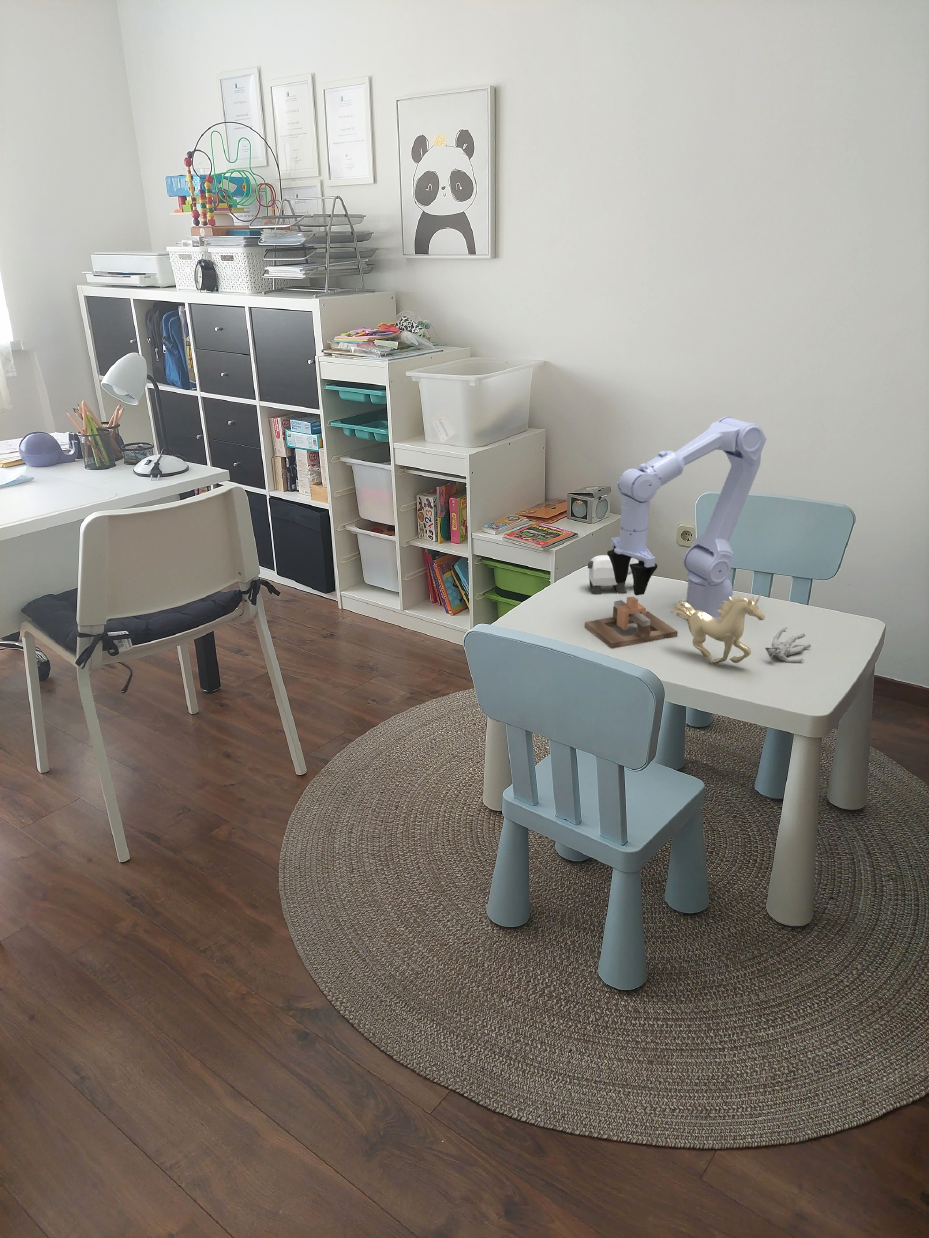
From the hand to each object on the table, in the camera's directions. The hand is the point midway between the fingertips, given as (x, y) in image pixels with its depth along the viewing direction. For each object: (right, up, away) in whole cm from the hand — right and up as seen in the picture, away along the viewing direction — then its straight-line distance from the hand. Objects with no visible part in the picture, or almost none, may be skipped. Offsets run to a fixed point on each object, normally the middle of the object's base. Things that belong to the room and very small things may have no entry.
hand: (629, 588), depth 191 cm
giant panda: (+1, 0, +26) cm, 26 cm away
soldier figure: (+31, -14, -8) cm, 35 cm away
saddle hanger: (+1, -8, +3) cm, 8 cm away
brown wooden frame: (+1, -9, +3) cm, 10 cm away
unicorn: (+14, -15, -10) cm, 23 cm away
